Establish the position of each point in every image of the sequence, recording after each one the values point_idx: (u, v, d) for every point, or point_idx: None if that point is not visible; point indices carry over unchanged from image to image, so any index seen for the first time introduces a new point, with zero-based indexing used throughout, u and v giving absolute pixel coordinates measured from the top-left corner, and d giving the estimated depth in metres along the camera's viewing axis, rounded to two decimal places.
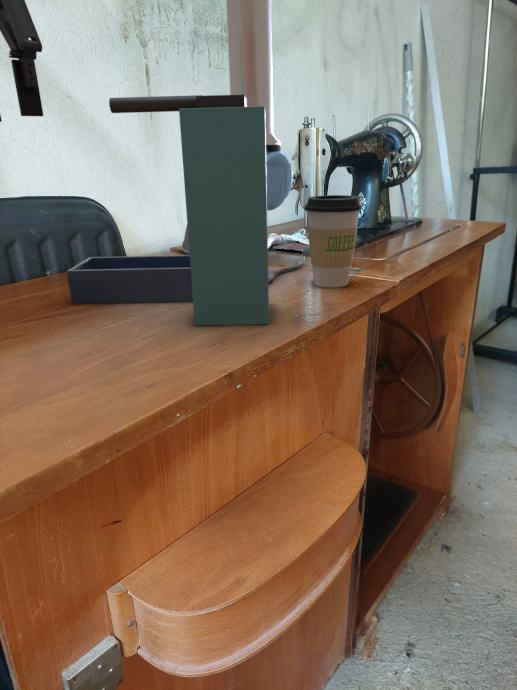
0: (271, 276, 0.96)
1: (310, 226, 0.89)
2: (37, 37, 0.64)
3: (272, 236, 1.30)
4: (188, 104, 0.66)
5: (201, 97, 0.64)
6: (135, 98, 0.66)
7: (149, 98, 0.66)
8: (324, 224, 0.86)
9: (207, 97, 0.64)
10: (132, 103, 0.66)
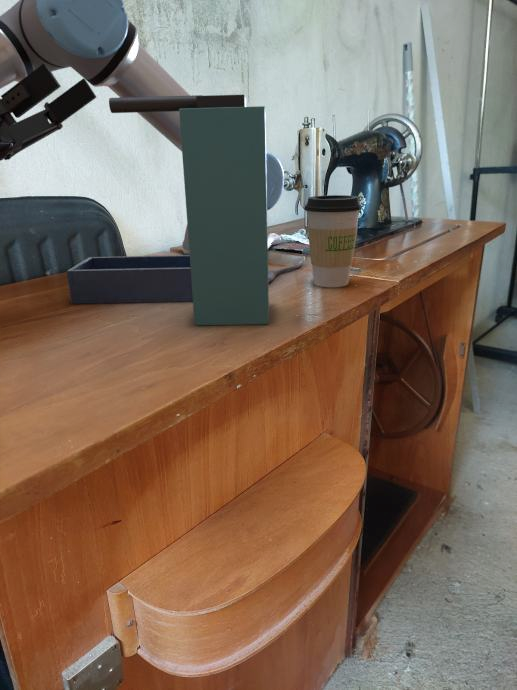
0: (271, 276, 0.96)
1: (310, 226, 0.89)
2: None
3: (272, 236, 1.30)
4: (188, 104, 0.66)
5: (201, 97, 0.64)
6: (135, 98, 0.66)
7: (149, 98, 0.66)
8: (324, 224, 0.86)
9: (207, 97, 0.64)
10: (132, 103, 0.66)
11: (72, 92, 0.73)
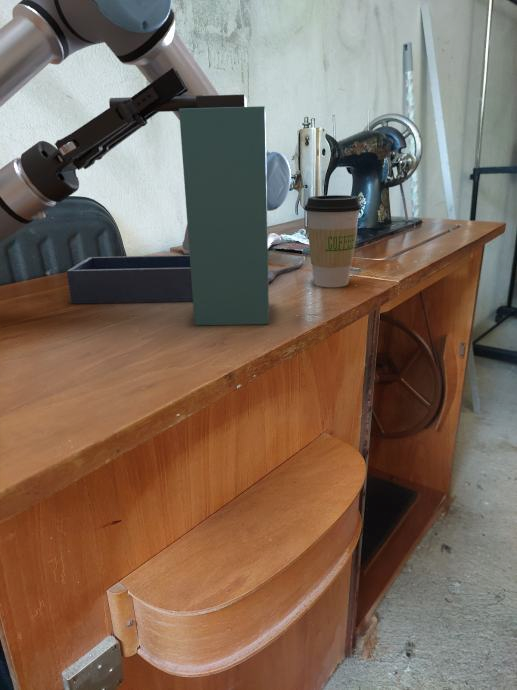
0: (271, 276, 0.96)
1: (310, 226, 0.89)
2: (112, 107, 0.63)
3: (272, 236, 1.30)
4: (188, 104, 0.66)
5: (201, 97, 0.64)
6: None
7: None
8: (324, 224, 0.86)
9: (207, 97, 0.64)
10: None
11: None
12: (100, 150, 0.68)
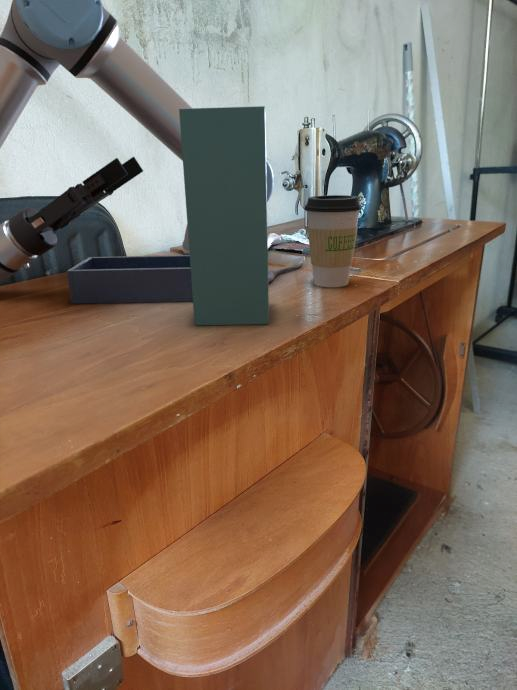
0: (271, 276, 0.96)
1: (310, 226, 0.89)
2: (65, 193, 0.76)
3: (272, 236, 1.30)
4: None
5: None
6: None
7: None
8: (324, 224, 0.86)
9: None
10: None
11: (123, 167, 0.87)
12: (67, 218, 0.83)
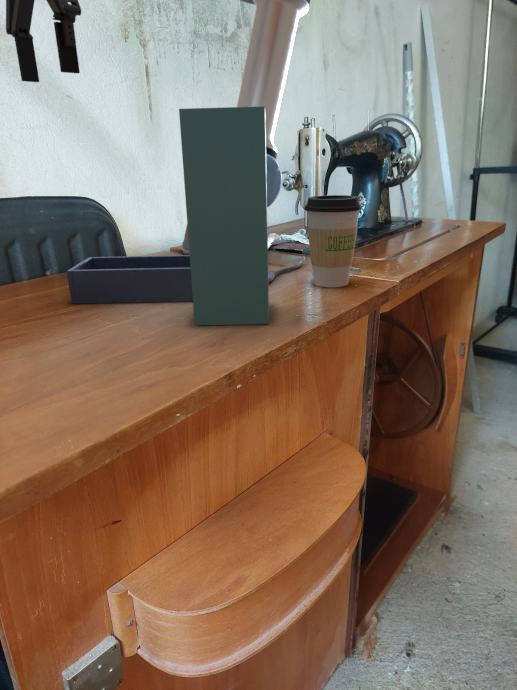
0: (271, 276, 0.96)
1: (310, 226, 0.89)
2: (77, 2, 0.75)
3: (272, 236, 1.30)
4: None
5: None
6: None
7: None
8: (324, 224, 0.86)
9: None
10: None
11: (33, 65, 0.87)
12: None
